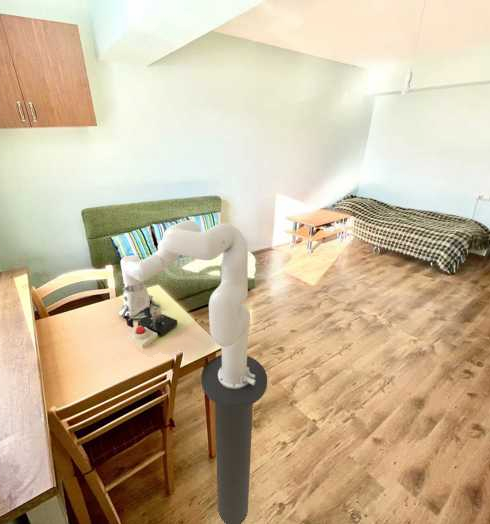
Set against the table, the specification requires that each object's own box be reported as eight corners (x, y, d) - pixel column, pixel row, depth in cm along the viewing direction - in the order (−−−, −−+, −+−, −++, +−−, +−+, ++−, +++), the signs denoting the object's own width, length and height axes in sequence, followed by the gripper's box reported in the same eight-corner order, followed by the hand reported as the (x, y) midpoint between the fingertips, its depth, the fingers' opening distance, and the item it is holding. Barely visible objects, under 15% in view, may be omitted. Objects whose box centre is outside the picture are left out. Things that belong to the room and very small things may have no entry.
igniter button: (146, 331, 122) (146, 327, 122) (140, 335, 120) (140, 332, 119) (141, 328, 124) (140, 325, 123) (134, 332, 121) (134, 329, 121)
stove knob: (157, 317, 134) (156, 307, 132) (163, 320, 132) (162, 310, 130) (150, 321, 131) (149, 312, 129) (157, 324, 128) (156, 315, 126)
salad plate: (164, 300, 152) (163, 292, 149) (155, 321, 136) (154, 313, 134) (129, 299, 153) (128, 292, 150) (116, 320, 137) (115, 312, 135)
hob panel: (177, 324, 133) (177, 319, 132) (161, 336, 124) (160, 332, 123) (154, 315, 140) (154, 310, 139) (138, 326, 132) (137, 321, 131)
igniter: (158, 337, 124) (157, 330, 122) (142, 348, 117) (141, 341, 115) (140, 329, 129) (139, 322, 128) (125, 340, 122) (124, 332, 121)
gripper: (122, 297, 104) (129, 334, 111) (156, 279, 118) (159, 313, 125) (110, 291, 108) (116, 328, 115) (143, 275, 122) (148, 309, 128)
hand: (139, 320), depth 120 cm, fingers open, 9 cm apart
